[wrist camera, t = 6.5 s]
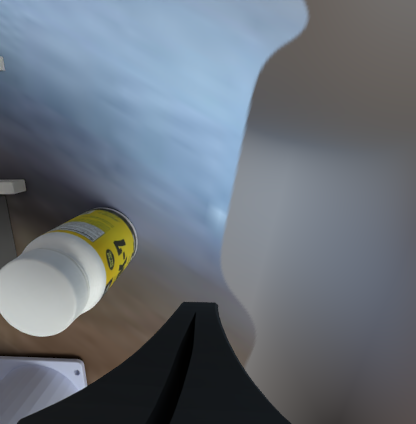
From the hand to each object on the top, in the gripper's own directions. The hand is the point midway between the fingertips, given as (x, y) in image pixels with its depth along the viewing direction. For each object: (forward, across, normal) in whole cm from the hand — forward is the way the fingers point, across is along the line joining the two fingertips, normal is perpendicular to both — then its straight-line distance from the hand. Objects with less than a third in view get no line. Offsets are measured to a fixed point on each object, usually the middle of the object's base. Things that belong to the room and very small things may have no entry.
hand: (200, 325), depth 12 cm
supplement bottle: (+10, +8, 0) cm, 13 cm away
